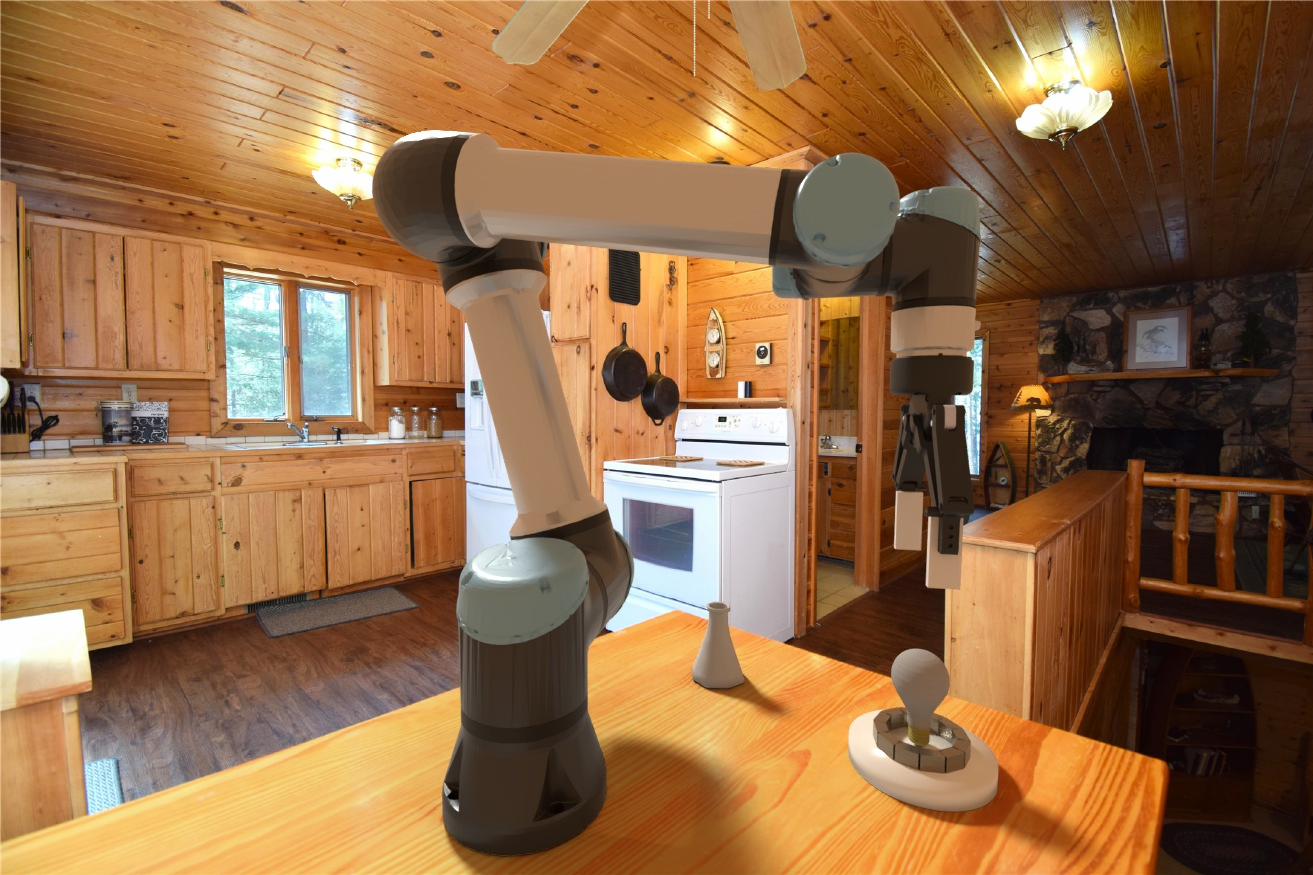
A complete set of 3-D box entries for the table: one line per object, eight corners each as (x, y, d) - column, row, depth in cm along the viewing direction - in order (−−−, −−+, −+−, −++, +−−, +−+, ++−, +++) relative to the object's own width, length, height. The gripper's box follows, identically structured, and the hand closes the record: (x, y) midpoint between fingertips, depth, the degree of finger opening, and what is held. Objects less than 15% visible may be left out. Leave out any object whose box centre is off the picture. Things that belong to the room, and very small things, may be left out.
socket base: (859, 800, 55) (860, 780, 55) (840, 720, 69) (840, 703, 69) (1022, 820, 52) (1023, 799, 52) (969, 732, 66) (969, 715, 66)
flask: (683, 669, 82) (683, 599, 81) (731, 662, 84) (731, 594, 83) (702, 694, 75) (703, 617, 74) (754, 686, 77) (755, 611, 76)
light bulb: (940, 731, 63) (942, 641, 62) (954, 763, 57) (957, 666, 56) (886, 725, 64) (887, 637, 63) (895, 757, 58) (897, 661, 58)
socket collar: (883, 766, 57) (883, 751, 57) (867, 717, 66) (867, 703, 65) (982, 777, 55) (983, 761, 55) (952, 725, 64) (953, 711, 64)
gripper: (1028, 343, 45) (1014, 613, 46) (936, 362, 69) (929, 538, 71) (924, 344, 46) (914, 606, 48) (869, 362, 71) (864, 535, 72)
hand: (923, 566), depth 59 cm, fingers open, 13 cm apart
